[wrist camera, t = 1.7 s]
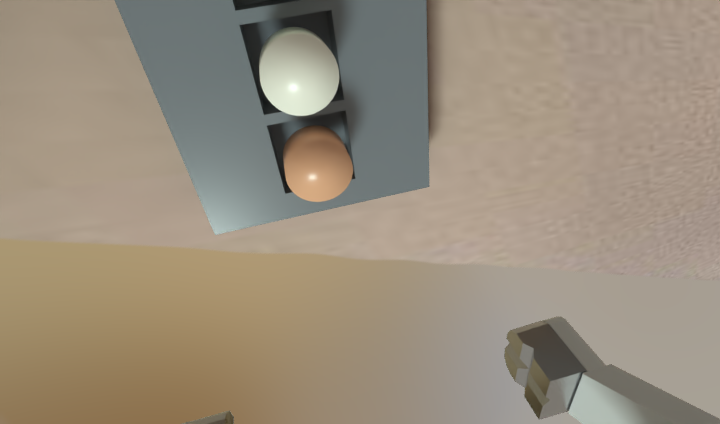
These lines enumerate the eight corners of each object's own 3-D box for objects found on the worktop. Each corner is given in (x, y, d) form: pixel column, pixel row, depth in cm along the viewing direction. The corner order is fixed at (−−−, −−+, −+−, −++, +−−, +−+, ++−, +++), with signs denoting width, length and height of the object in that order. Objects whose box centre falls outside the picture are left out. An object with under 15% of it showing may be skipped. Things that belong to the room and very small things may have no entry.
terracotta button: (340, 119, 21) (348, 134, 20) (349, 175, 23) (356, 194, 22) (276, 132, 21) (277, 149, 19) (290, 188, 23) (293, 208, 21)
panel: (399, -181, 18) (423, -202, 15) (414, 166, 28) (429, 186, 25) (76, -146, 16) (44, -164, 13) (218, 208, 26) (215, 234, 24)
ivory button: (325, 20, 18) (332, 27, 17) (336, 94, 21) (344, 108, 19) (250, 33, 18) (249, 42, 16) (269, 107, 20) (270, 122, 18)
